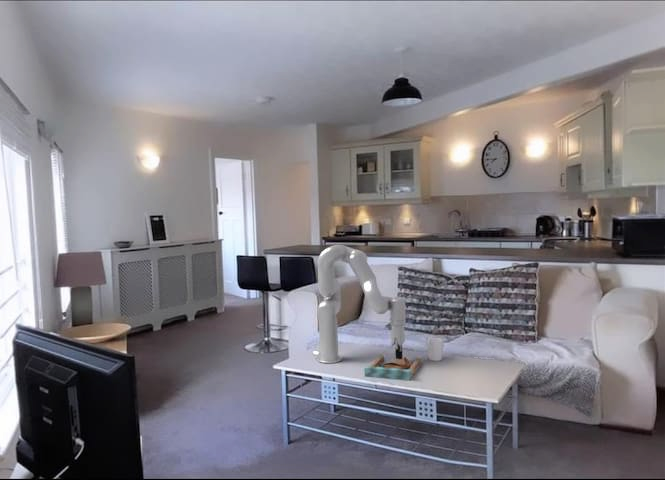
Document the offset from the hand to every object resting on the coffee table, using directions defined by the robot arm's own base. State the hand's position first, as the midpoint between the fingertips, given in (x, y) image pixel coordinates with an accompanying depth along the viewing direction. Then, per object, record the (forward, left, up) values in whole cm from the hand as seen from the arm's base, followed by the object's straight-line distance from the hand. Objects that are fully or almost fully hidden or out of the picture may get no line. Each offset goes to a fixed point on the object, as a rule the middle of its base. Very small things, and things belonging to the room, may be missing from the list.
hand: (399, 358), depth 246 cm
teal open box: (0, -11, -2) cm, 11 cm away
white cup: (+16, +12, -3) cm, 20 cm away
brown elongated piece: (+2, -8, -3) cm, 9 cm away
